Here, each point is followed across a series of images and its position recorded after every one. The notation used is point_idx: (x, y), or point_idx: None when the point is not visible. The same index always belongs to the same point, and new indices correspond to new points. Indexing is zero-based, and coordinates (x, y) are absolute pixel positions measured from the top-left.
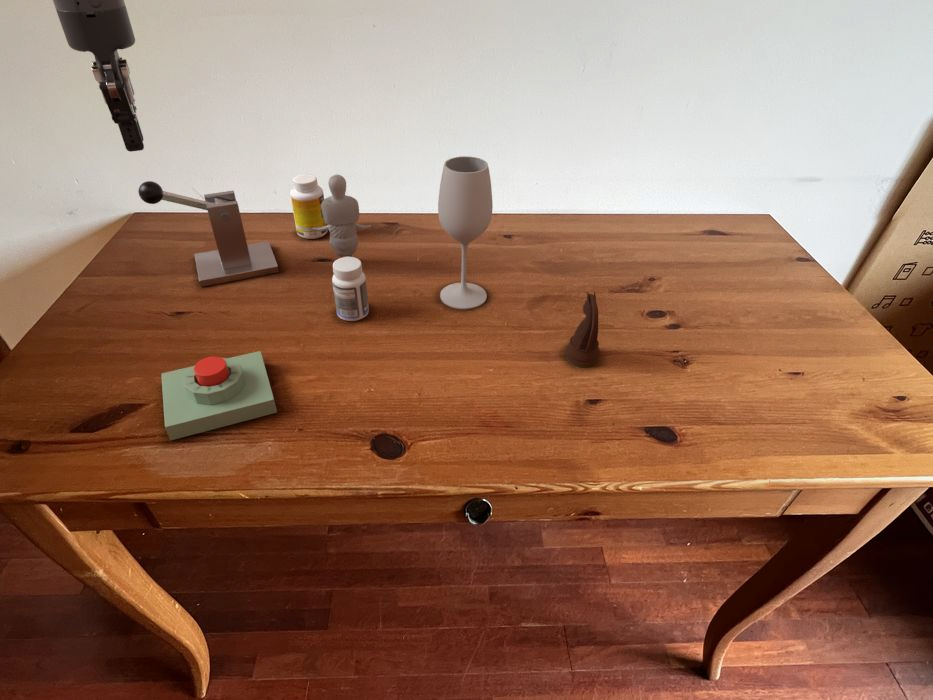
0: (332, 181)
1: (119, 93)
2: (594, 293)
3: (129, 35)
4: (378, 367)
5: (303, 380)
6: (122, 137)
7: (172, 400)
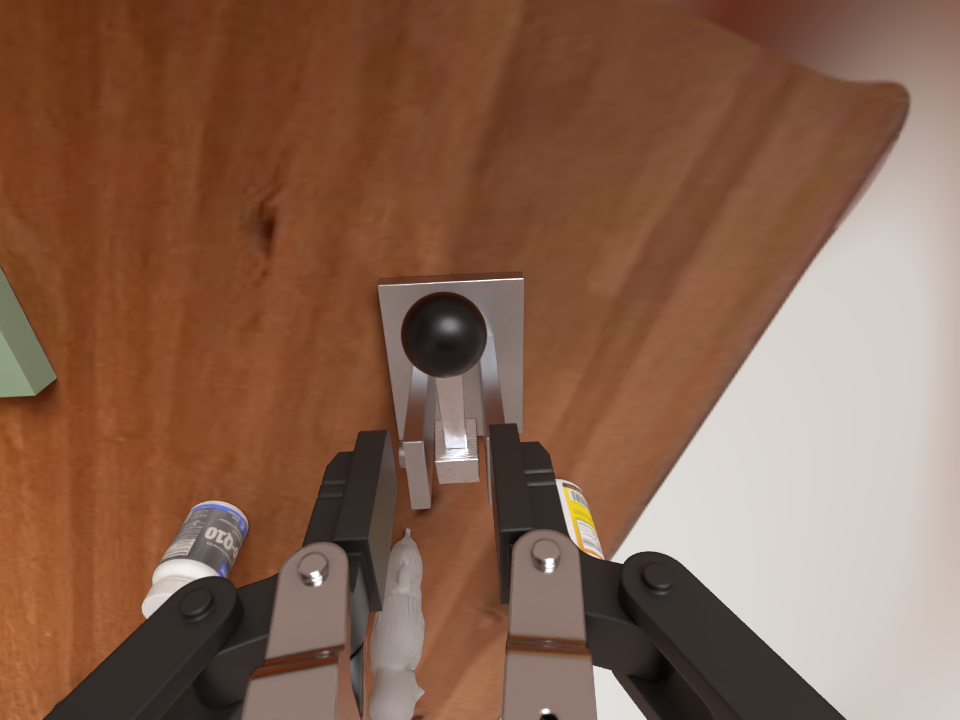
0: (376, 713)
1: None
2: None
3: None
4: (50, 527)
5: (7, 430)
6: (347, 477)
7: None
